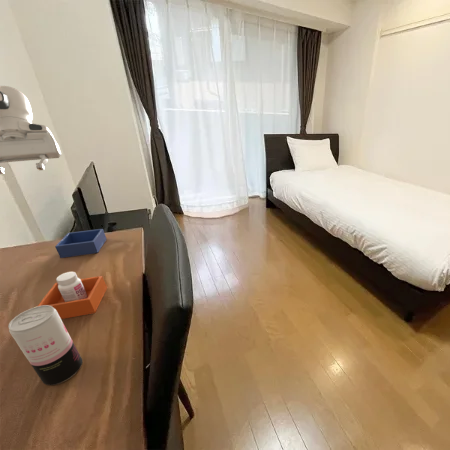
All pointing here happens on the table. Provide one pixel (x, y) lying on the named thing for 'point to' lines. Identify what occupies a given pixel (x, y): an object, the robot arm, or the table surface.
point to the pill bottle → (71, 287)
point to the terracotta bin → (94, 291)
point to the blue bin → (81, 243)
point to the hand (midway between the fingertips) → (20, 171)
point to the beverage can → (46, 344)
